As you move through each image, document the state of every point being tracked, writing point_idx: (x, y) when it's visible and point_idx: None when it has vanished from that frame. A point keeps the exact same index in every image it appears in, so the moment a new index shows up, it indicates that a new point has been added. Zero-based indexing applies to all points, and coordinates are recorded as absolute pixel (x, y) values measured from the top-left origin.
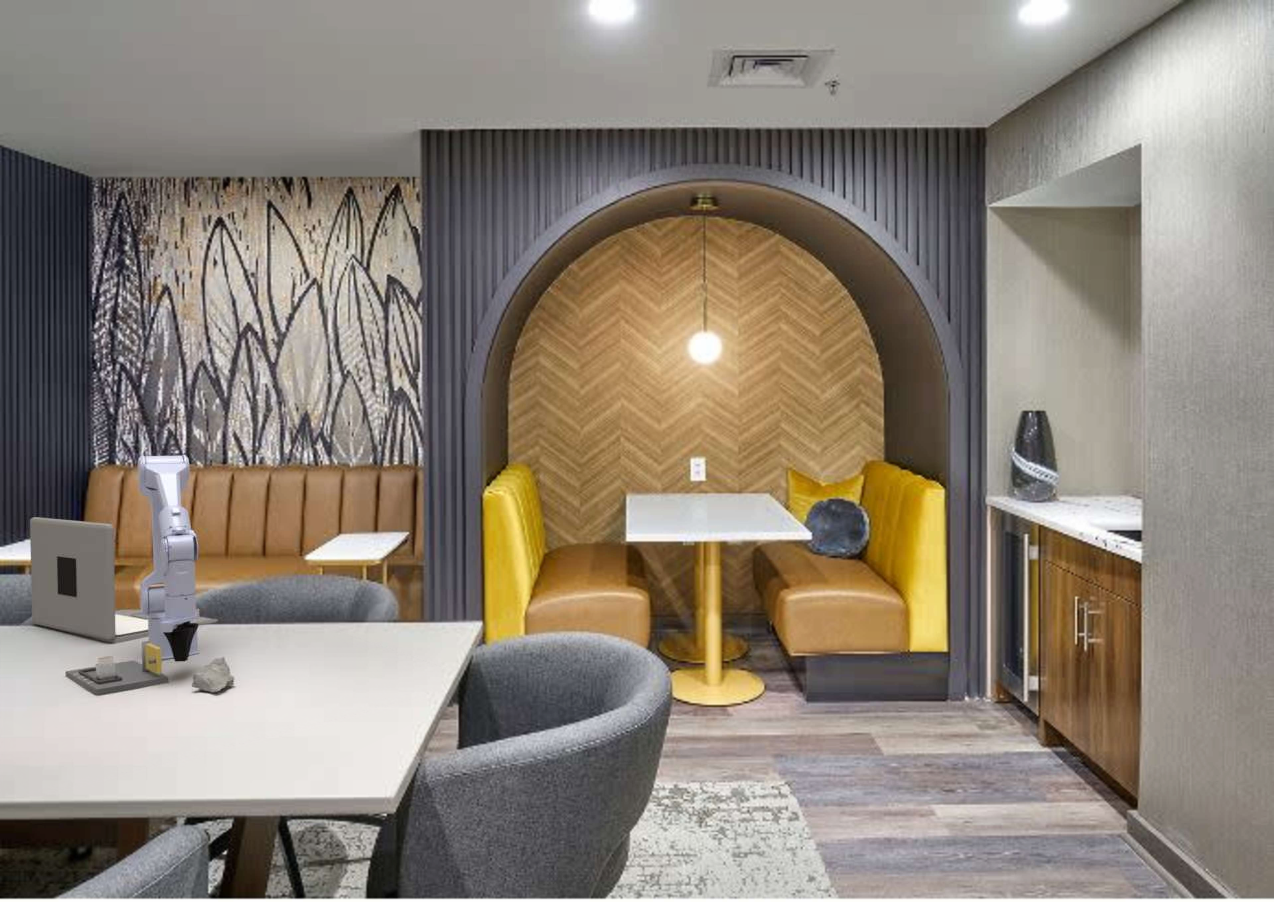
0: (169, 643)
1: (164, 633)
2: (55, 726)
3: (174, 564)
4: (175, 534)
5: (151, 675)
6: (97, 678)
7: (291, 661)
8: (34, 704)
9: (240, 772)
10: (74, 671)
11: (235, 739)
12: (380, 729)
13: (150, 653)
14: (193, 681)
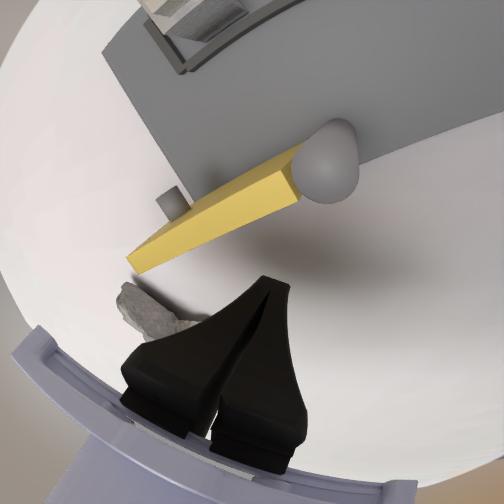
0: (207, 318)
1: (145, 345)
2: (9, 102)
3: None
4: None
5: (245, 168)
6: None
7: (351, 424)
8: None
9: (13, 282)
10: None
11: (34, 290)
12: (80, 364)
13: (213, 198)
14: (121, 291)
